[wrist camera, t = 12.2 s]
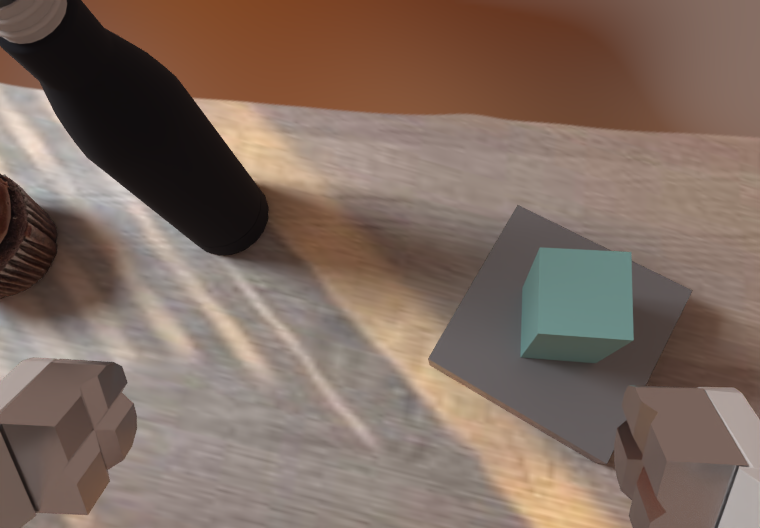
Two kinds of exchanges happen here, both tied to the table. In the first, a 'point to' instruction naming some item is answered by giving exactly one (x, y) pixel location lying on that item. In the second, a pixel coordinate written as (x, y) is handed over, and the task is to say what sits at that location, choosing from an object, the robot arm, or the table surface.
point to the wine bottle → (136, 122)
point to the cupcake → (23, 239)
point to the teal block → (577, 305)
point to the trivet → (542, 376)
